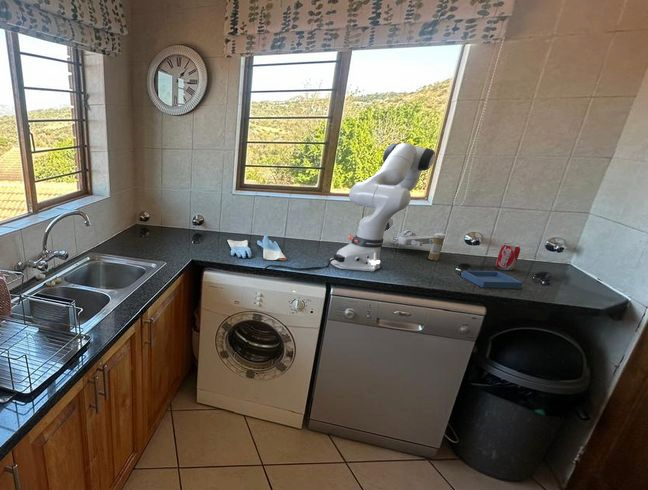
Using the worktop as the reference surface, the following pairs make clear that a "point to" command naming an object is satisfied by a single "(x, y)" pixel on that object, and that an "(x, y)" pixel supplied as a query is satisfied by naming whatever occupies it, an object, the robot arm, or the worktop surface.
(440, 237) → the sprinkles bottle
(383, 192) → the robot arm
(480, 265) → the worktop surface
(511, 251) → the soda can
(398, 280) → the worktop surface
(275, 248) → the rubber gloves
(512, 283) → the blue tray
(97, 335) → the worktop surface
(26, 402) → the worktop surface
